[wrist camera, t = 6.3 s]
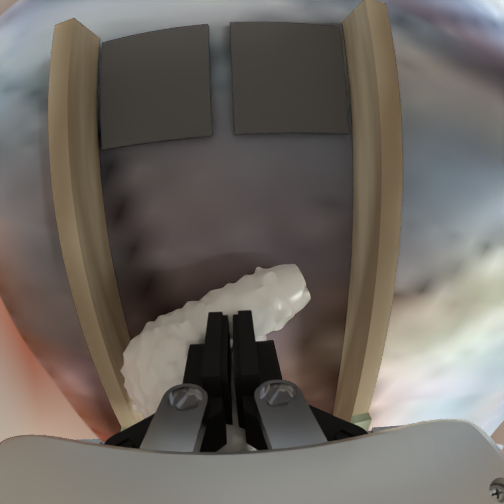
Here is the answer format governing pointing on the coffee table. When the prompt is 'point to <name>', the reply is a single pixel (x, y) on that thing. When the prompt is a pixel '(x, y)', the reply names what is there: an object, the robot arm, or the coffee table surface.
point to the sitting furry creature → (194, 330)
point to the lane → (364, 206)
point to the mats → (243, 81)
